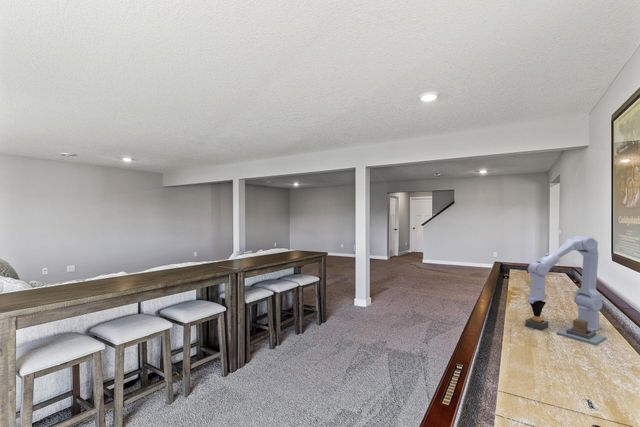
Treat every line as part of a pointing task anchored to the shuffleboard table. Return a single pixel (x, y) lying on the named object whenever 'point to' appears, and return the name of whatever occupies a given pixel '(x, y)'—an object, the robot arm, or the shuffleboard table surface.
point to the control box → (536, 324)
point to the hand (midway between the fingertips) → (536, 316)
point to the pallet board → (582, 336)
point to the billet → (580, 326)
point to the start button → (537, 319)
